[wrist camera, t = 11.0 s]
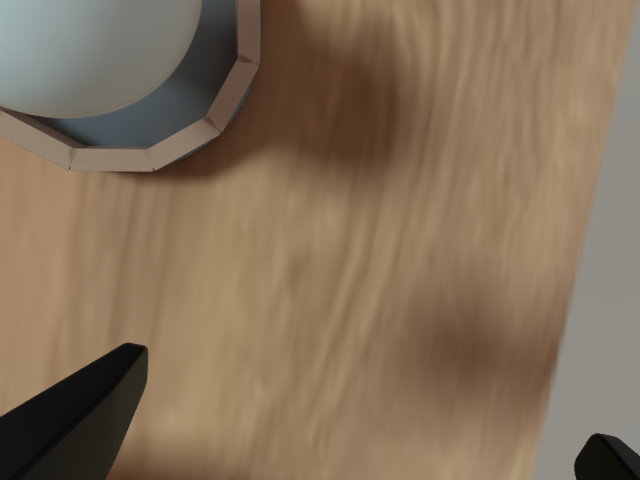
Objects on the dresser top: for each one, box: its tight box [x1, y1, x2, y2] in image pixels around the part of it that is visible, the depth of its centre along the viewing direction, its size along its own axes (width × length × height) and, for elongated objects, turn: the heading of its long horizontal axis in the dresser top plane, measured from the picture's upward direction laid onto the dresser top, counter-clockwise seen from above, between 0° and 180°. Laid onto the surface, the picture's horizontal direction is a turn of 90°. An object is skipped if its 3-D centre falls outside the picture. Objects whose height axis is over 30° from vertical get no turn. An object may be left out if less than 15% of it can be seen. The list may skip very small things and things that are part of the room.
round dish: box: [0, 0, 262, 172], centre depth 16 cm, size 11×11×2 cm
